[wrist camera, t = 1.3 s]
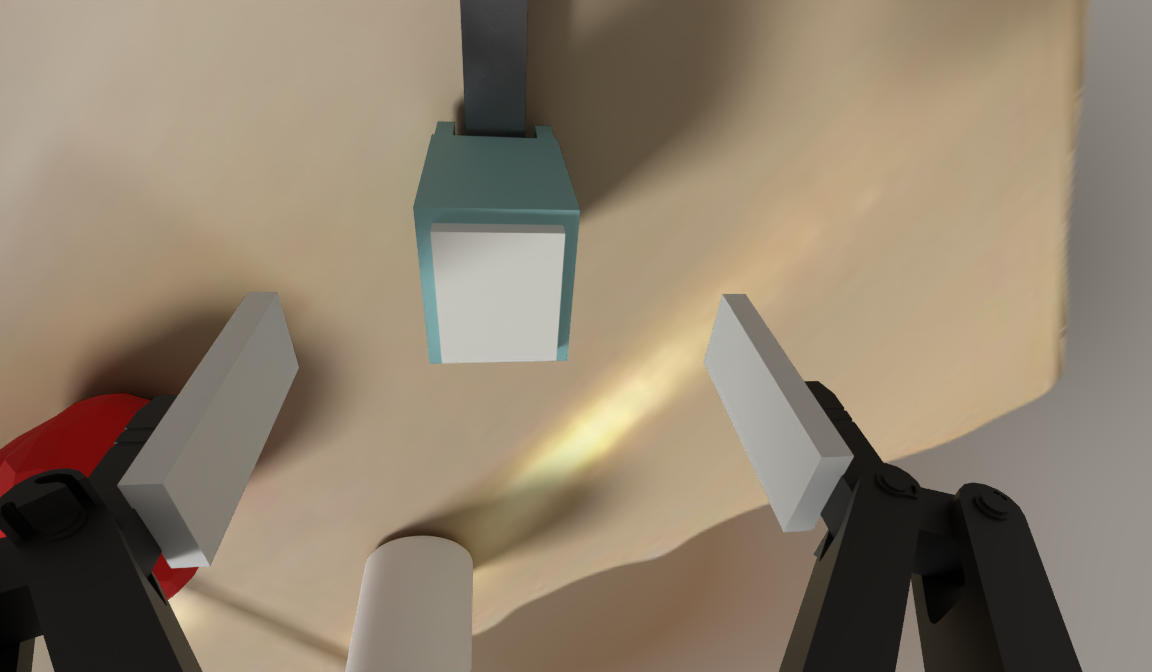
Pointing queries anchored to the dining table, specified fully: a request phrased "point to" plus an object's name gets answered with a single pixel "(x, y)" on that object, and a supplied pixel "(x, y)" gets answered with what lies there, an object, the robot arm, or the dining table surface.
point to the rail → (494, 66)
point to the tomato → (80, 455)
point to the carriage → (496, 247)
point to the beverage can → (414, 608)
